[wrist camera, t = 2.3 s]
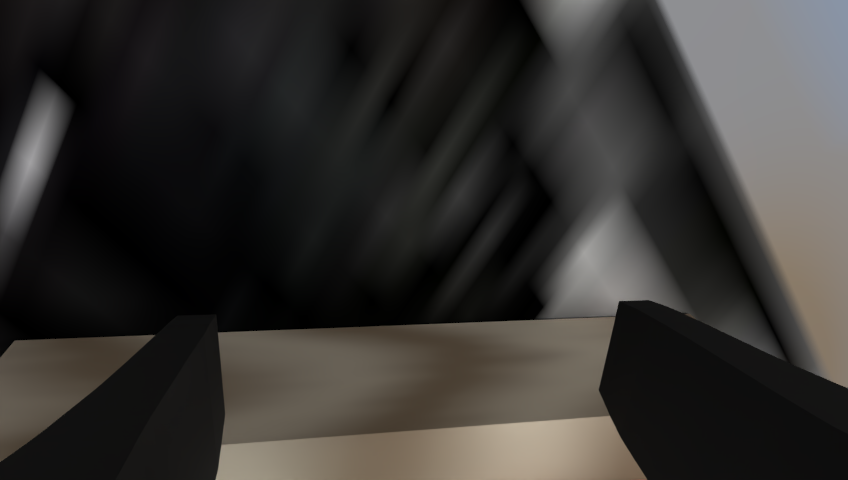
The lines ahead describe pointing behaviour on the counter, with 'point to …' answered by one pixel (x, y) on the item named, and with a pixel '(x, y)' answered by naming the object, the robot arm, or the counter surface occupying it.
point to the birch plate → (370, 400)
